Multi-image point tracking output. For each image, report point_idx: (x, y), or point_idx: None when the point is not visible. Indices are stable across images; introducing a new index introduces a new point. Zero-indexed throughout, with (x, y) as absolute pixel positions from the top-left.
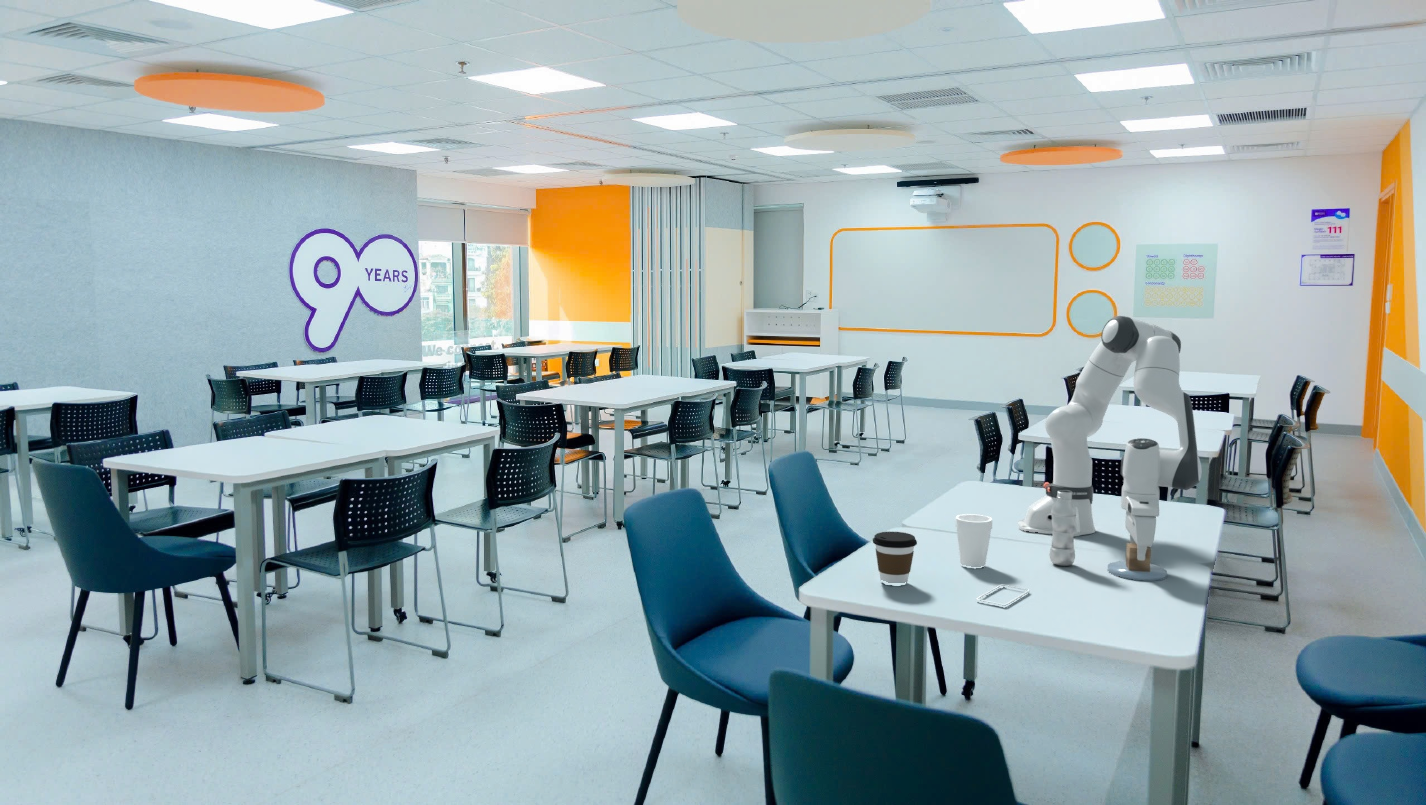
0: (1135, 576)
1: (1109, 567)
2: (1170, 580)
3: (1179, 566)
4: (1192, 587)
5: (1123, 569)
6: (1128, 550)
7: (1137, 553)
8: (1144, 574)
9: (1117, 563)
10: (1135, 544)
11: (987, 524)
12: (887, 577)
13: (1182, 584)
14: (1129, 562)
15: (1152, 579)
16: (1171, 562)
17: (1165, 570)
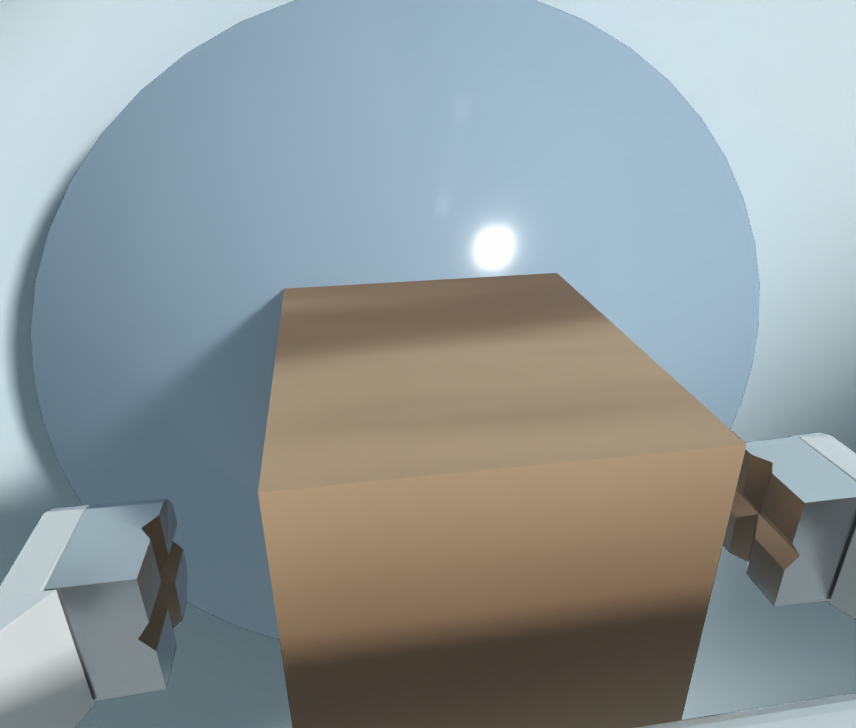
0: (36, 347)
1: (364, 2)
2: (229, 635)
3: (723, 686)
4: None
5: (311, 218)
6: (439, 409)
7: (10, 586)
8: (155, 457)
9: (630, 166)
10: (622, 591)
11: None
12: None
13: (126, 711)
14: (279, 337)
15: None
16: (839, 641)
17: None
